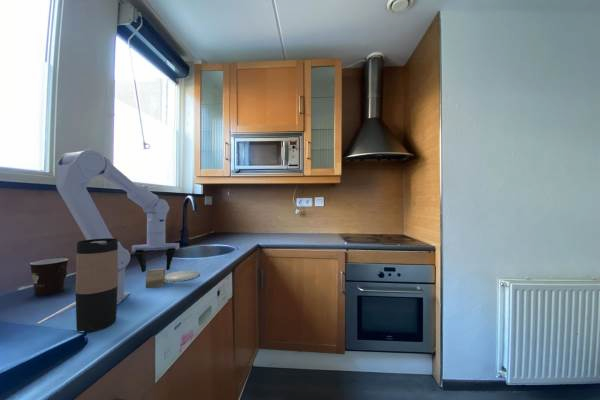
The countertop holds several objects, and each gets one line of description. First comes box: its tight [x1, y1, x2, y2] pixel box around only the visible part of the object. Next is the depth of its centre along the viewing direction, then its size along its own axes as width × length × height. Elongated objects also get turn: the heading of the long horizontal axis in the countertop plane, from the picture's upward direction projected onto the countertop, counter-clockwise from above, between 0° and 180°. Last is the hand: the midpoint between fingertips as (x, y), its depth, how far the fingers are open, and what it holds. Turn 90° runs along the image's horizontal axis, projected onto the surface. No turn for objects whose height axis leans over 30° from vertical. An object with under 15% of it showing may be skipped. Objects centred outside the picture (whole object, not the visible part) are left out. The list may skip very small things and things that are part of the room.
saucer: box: [165, 269, 200, 282], centre depth 95 cm, size 12×12×1 cm
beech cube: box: [145, 268, 166, 289], centre depth 86 cm, size 5×5×5 cm
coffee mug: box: [29, 257, 69, 297], centre depth 78 cm, size 12×9×10 cm
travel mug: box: [75, 237, 119, 334], centre depth 57 cm, size 8×8×20 cm
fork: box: [36, 301, 76, 325], centre depth 68 cm, size 3×20×2 cm, turn 5°
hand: (156, 270), depth 86 cm, fingers open, 7 cm apart
